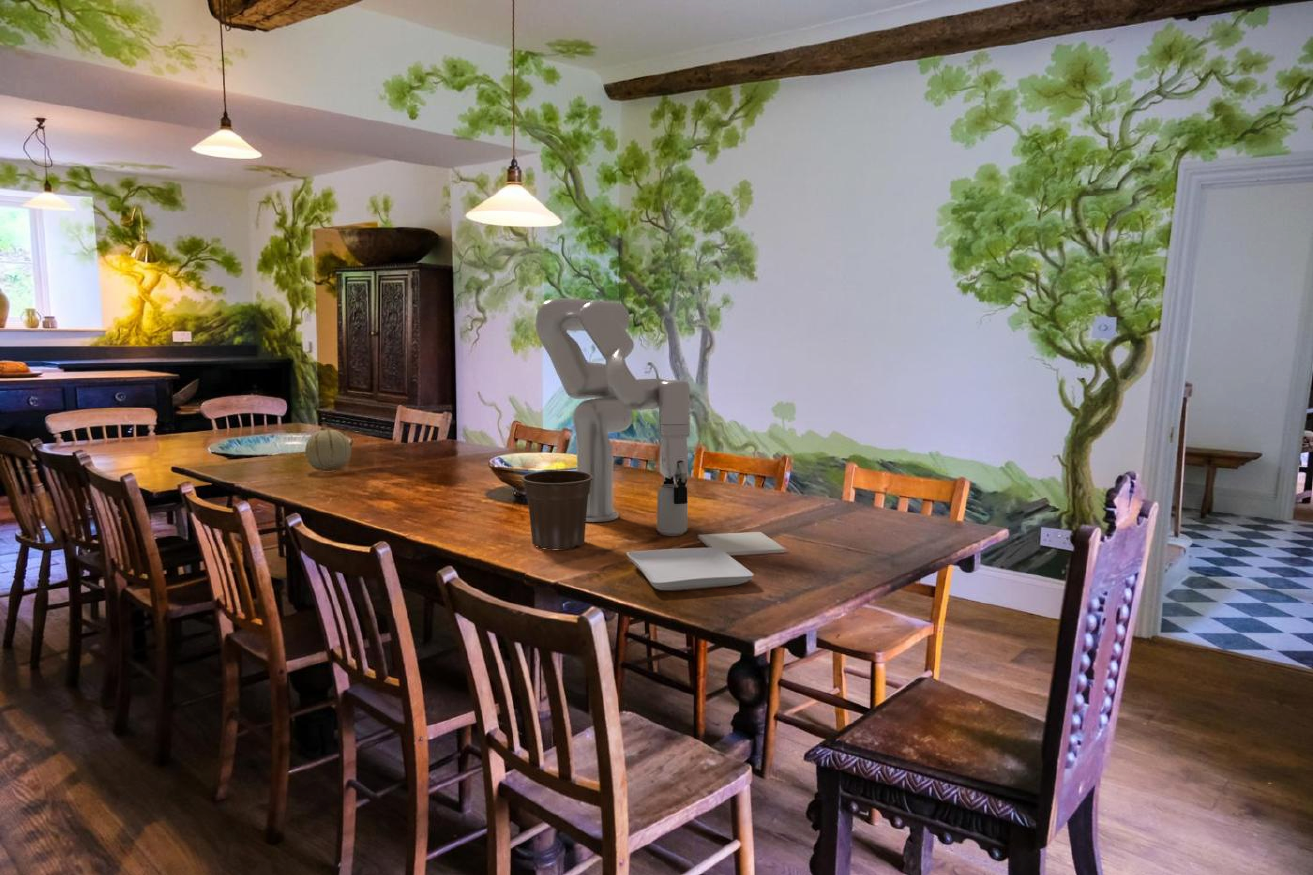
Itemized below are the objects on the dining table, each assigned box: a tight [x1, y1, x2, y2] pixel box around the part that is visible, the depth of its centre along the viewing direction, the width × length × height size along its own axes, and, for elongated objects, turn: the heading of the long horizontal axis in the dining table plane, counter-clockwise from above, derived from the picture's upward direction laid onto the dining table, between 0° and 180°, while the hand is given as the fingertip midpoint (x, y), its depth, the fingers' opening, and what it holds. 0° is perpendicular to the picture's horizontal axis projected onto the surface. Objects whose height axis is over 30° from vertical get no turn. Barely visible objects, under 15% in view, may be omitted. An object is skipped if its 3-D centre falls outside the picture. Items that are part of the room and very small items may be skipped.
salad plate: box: [626, 547, 754, 591], centre depth 166 cm, size 21×21×3 cm
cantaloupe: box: [304, 427, 352, 472], centre depth 277 cm, size 15×15×15 cm
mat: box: [697, 531, 787, 556], centre depth 191 cm, size 16×16×1 cm
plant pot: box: [521, 469, 593, 550], centre depth 188 cm, size 16×16×16 cm
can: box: [656, 483, 689, 537], centre depth 200 cm, size 8×8×12 cm
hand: (675, 500), depth 199 cm, fingers open, 9 cm apart
